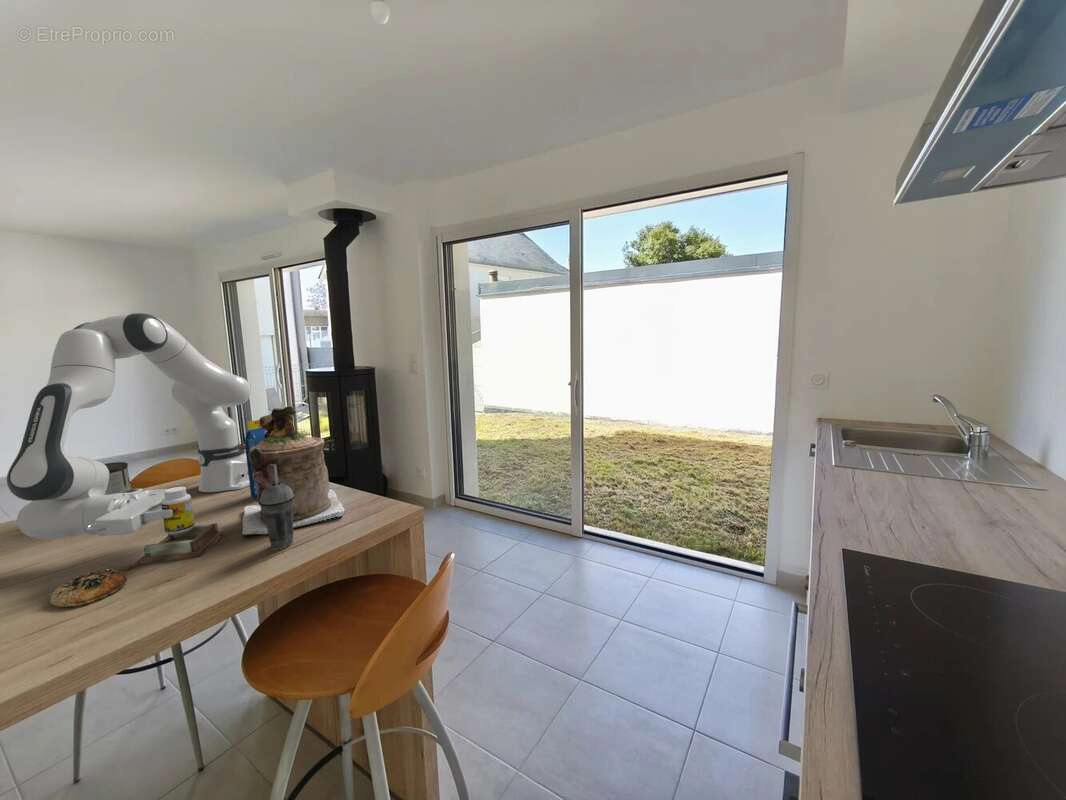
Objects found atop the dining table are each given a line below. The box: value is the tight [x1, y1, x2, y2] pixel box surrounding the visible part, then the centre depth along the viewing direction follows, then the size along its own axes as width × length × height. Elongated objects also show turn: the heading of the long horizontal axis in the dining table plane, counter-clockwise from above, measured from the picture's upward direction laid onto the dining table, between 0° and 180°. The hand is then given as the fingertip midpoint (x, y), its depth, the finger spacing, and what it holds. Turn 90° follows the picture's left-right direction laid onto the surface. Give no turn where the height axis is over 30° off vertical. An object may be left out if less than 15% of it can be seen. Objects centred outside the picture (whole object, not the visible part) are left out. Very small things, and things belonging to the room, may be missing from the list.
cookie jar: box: [241, 405, 345, 536], centre depth 122 cm, size 25×25×32 cm
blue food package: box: [244, 419, 267, 500], centre depth 141 cm, size 6×12×25 cm, turn 152°
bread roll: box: [49, 568, 128, 608], centre depth 86 cm, size 11×11×5 cm
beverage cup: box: [260, 464, 294, 550], centre depth 103 cm, size 7×7×20 cm
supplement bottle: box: [161, 486, 195, 535], centre depth 103 cm, size 6×6×10 cm
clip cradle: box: [138, 522, 225, 564], centre depth 104 cm, size 12×12×4 cm
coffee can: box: [104, 461, 132, 495], centre depth 128 cm, size 10×10×14 cm
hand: (181, 507), depth 103 cm, fingers closed on supplement bottle, 5 cm apart
